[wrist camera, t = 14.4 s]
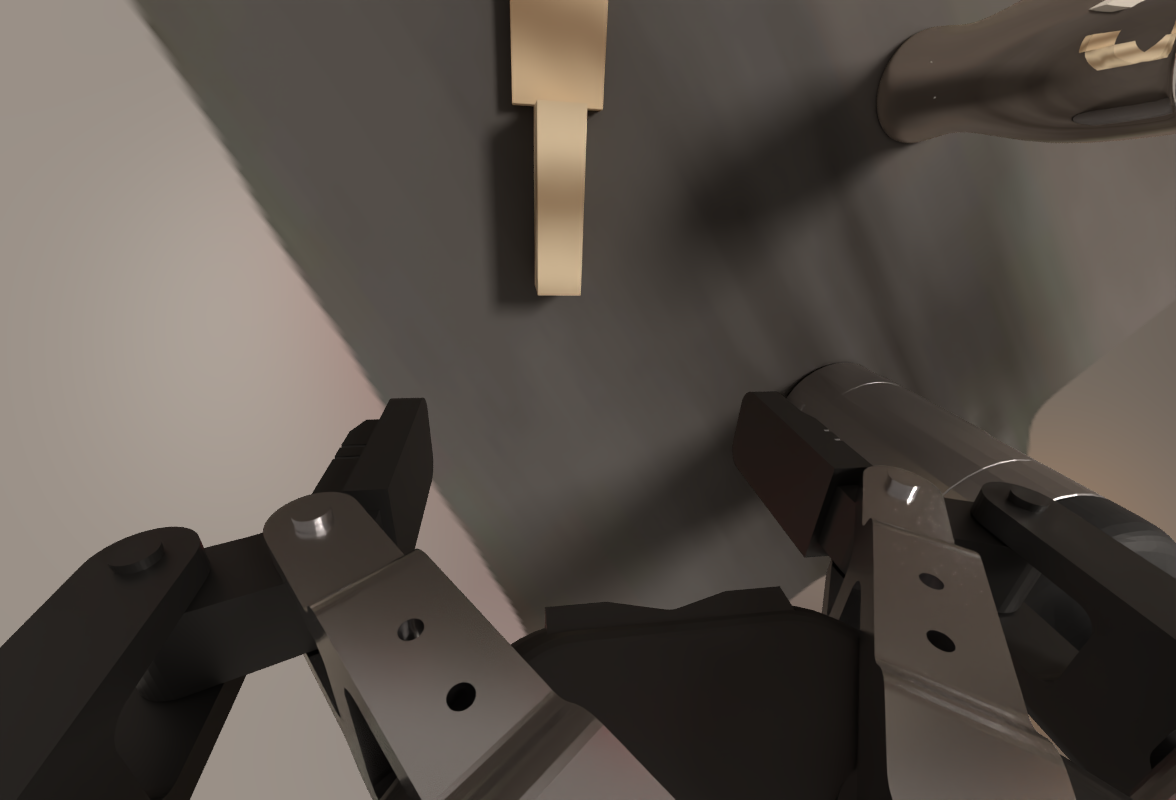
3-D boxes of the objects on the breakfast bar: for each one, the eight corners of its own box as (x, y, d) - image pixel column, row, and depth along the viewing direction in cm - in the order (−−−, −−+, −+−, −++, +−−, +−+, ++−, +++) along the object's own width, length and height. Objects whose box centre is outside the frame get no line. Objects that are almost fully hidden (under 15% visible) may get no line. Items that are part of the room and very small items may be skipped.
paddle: (591, 284, 31) (599, 295, 29) (516, 284, 31) (517, 295, 28) (605, -23, 24) (618, -46, 22) (508, -35, 24) (509, -61, 21)
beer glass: (966, -7, 27) (1402, -172, 14) (977, 114, 31) (1340, 73, 17) (858, 59, 28) (1180, -40, 15) (880, 172, 31) (1161, 174, 18)
